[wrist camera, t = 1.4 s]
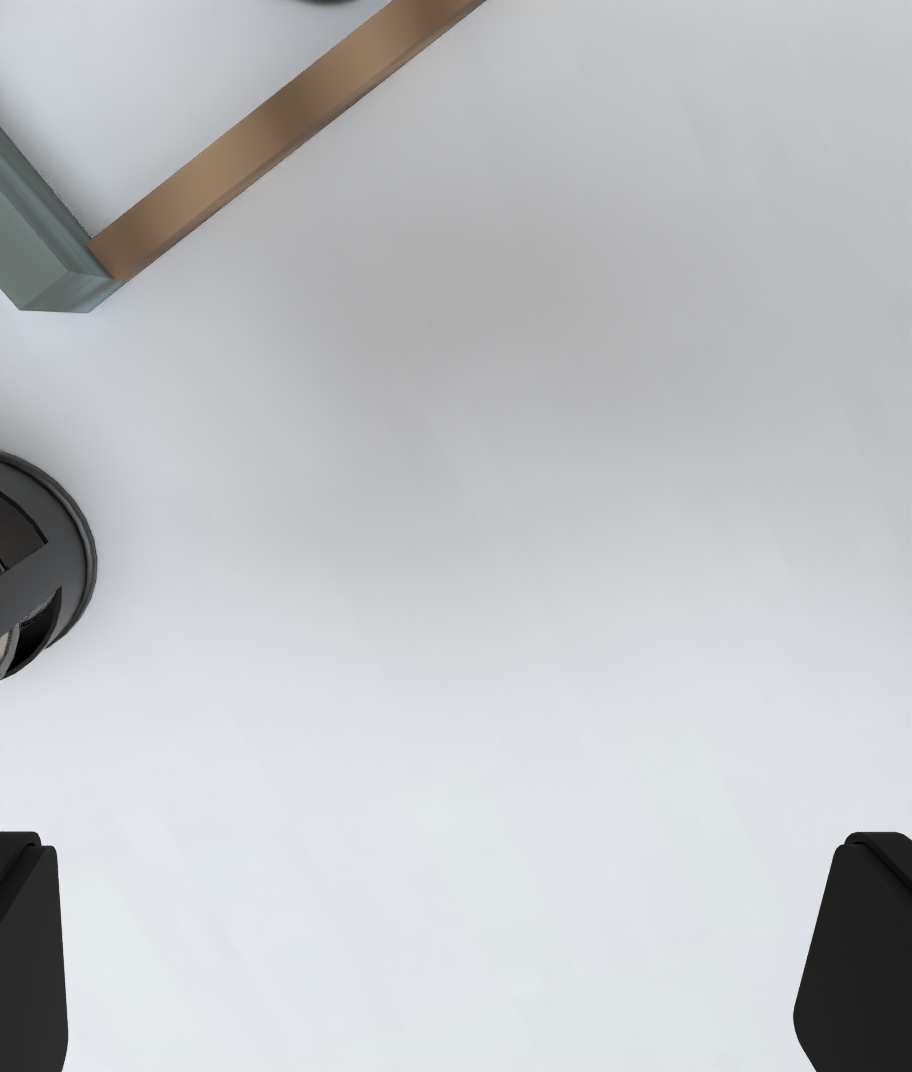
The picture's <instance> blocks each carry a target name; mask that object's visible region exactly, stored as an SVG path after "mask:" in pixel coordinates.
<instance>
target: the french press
mask: <svg viewBox="0 0 912 1072" xmlns="http://www.w3.org/2000/svg"><path fill="white" fill-rule="evenodd" d="M0 497H2V498H3V499H4V500H6V501H7V502H8V503H10V504H11V505H12V506H14V507H15V508H16V509H17V510H18V511H19V512H20V513H21V514H22V515H23V516H24V517H25V518H26V519H27V520H28V521H29V522H30V523H31V524H32V526H33V527H34V529H35V530H36V532H37V533H38V535H39V536H40V538H41V539H42V541H43V542H44V544H43V545H42V546H41V547H39V548H38V549H36V550H35V551H33V552H32V553H30V554H29V555H27V556H26V557H24V558H23V559H21V560H20V561H18V562H17V563H16V564H14V565H13V566H11V567H10V568H8V566H7V565H6V563H5V561H4V560H3V559H2V557H1V556H0V680H2V679H4V678H7V677H9V676H11V675H13V674H15V673H17V672H18V671H19V670H21V669H22V668H23V667H25V666H26V665H27V664H29V663H30V662H31V661H33V660H34V659H35V658H36V657H37V656H38V655H39V654H40V653H41V652H42V651H43V650H44V649H46V648H49V647H50V646H52V645H53V644H54V643H56V642H57V641H58V640H59V639H61V638H62V637H63V636H65V635H66V634H67V633H68V632H69V631H70V630H71V629H72V627H73V626H74V625H75V624H76V623H77V622H78V620H79V619H80V618H81V617H82V615H83V613H84V611H85V609H86V608H87V606H88V604H89V602H90V600H91V597H92V593H93V589H94V586H95V582H96V565H97V559H96V553H95V547H94V541H93V538H92V535H91V533H90V530H89V527H88V525H87V522H86V520H85V518H84V516H83V515H82V513H81V512H80V510H79V509H78V507H77V505H76V504H75V502H74V501H73V499H72V498H71V497H70V496H69V495H68V494H67V493H66V492H65V491H64V490H63V489H62V488H61V487H60V486H59V484H58V483H57V482H55V481H54V480H53V479H51V478H50V477H49V476H47V475H46V474H45V473H43V472H42V471H41V470H39V469H38V468H36V467H34V466H33V465H31V464H29V463H27V462H25V461H23V460H21V459H19V458H17V457H15V456H12V455H8V454H5V453H2V452H0ZM56 590H57V591H56ZM55 591H56V594H55V596H54V598H53V600H52V602H51V604H50V606H49V607H48V608H47V609H46V610H45V612H44V613H43V614H42V615H41V616H40V617H39V618H37V619H36V620H35V621H33V622H32V623H31V624H28V625H26V626H24V627H22V628H20V627H21V620H22V619H23V618H24V617H25V616H27V615H28V614H29V613H30V612H31V611H32V610H34V609H35V608H36V607H37V606H38V605H39V604H41V603H42V602H43V601H44V600H45V599H46V598H48V597H49V596H50V595H51V594H52V593H53V592H55Z"/></svg>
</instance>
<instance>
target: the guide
mask: <svg viewBox="0 0 912 1072" xmlns="http://www.w3.org/2000/svg"><path fill="white" fill-rule="evenodd" d="M484 1H486V0H393V1H392V2H390V3H389V4H388V5H387V6H385V7H384V8H383V9H381V10H380V11H379V12H378V13H376V14H375V15H374V16H373V17H371V18H370V19H369V20H368V21H366V22H365V23H364V24H363V25H361V26H360V27H359V28H358V29H356V30H355V31H354V32H352V33H351V34H350V35H349V36H347V37H346V38H345V39H344V40H342V41H341V42H340V43H339V44H337V45H336V46H335V47H334V48H332V49H331V50H330V51H329V52H327V53H326V54H325V55H324V56H322V57H321V58H320V59H318V60H317V61H316V62H315V63H313V64H312V65H311V66H310V67H308V68H307V69H306V70H305V71H303V72H302V73H301V74H300V75H298V76H297V77H296V78H295V79H293V80H292V81H291V82H289V83H288V84H287V85H286V86H284V87H283V88H282V89H281V90H279V91H278V92H277V93H276V94H274V95H273V96H272V97H271V98H269V99H268V100H267V101H266V102H264V103H263V104H262V105H261V106H259V107H258V108H257V109H255V110H254V111H253V112H252V113H250V114H249V115H248V116H247V117H245V118H244V119H243V120H242V121H240V122H239V123H238V124H237V125H235V126H234V127H233V128H232V129H230V130H229V131H228V132H226V133H225V134H224V135H223V136H221V137H220V138H219V139H218V140H216V141H215V142H214V143H213V144H211V145H210V146H209V147H208V148H206V149H205V150H204V151H203V152H201V153H200V154H199V155H198V156H196V157H195V158H194V159H192V160H191V161H190V162H189V163H187V164H186V165H185V166H184V167H182V168H181V169H180V170H179V171H177V172H176V173H175V174H174V175H172V176H171V177H170V178H169V179H167V180H166V181H165V182H164V183H162V184H161V185H160V186H158V187H157V188H156V189H155V190H153V191H152V192H151V193H150V194H148V195H147V196H146V197H145V198H143V199H142V200H141V201H140V202H138V203H137V204H136V205H135V206H133V207H132V208H131V209H129V210H128V211H127V212H126V213H124V214H123V215H122V216H121V217H119V218H118V219H117V220H116V221H114V222H113V223H112V224H111V225H109V226H108V227H107V228H106V229H104V230H103V231H102V232H101V233H99V234H98V235H97V236H95V237H94V238H93V239H91V237H90V236H89V235H88V234H87V232H86V231H85V230H84V229H83V228H82V226H81V225H80V224H79V223H78V221H77V220H76V219H75V218H74V217H73V215H72V214H71V213H70V212H69V211H68V209H67V208H66V207H65V206H64V204H63V203H62V202H61V201H60V200H59V198H58V197H57V196H56V195H55V193H54V192H53V191H52V190H51V189H50V187H49V186H48V185H47V184H46V182H45V181H44V180H43V179H42V178H41V176H40V175H39V174H38V173H37V171H36V170H35V169H34V168H33V167H32V165H31V164H30V163H29V162H28V161H27V159H26V158H25V157H24V156H23V154H22V153H21V152H20V151H19V150H18V148H17V147H16V146H15V145H14V143H13V142H12V141H11V140H10V139H9V137H8V136H7V135H6V134H5V132H4V131H3V130H2V129H1V128H0V289H1V290H2V291H3V292H4V293H5V294H6V295H7V297H8V298H9V299H10V300H11V301H12V302H13V303H14V305H15V306H16V307H17V308H18V309H19V310H27V311H49V312H72V313H88V312H90V311H91V310H92V309H93V308H95V307H96V306H97V305H99V304H100V303H101V302H102V301H104V300H105V299H106V298H107V297H109V296H110V295H111V294H113V293H114V292H115V291H116V290H118V289H119V288H120V287H121V286H123V285H124V284H125V283H127V282H128V281H129V280H130V279H132V278H133V277H134V276H135V275H137V274H138V273H139V272H141V271H142V270H143V269H144V268H146V267H147V266H148V265H149V264H151V263H152V262H153V261H155V260H156V259H157V258H158V257H160V256H161V255H162V254H163V253H165V252H166V251H167V250H169V249H170V248H171V247H172V246H174V245H175V244H176V243H178V242H179V241H180V240H181V239H183V238H184V237H185V236H186V235H188V234H189V233H190V232H192V231H193V230H194V229H195V228H197V227H198V226H199V225H200V224H202V223H203V222H204V221H206V220H207V219H208V218H209V217H211V216H212V215H213V214H214V213H216V212H217V211H218V210H220V209H221V208H222V207H223V206H225V205H226V204H227V203H228V202H230V201H231V200H232V199H234V198H235V197H236V196H237V195H239V194H240V193H241V192H242V191H244V190H245V189H246V188H248V187H249V186H250V185H251V184H253V183H254V182H255V181H256V180H258V179H259V178H260V177H262V176H263V175H264V174H265V173H267V172H268V171H269V170H270V169H272V168H273V167H274V166H276V165H277V164H278V163H279V162H281V161H282V160H283V159H284V158H286V157H287V156H288V155H290V154H291V153H292V152H293V151H295V150H296V149H297V148H298V147H300V146H301V145H302V144H304V143H305V142H306V141H307V140H309V139H310V138H311V137H312V136H314V135H315V134H316V133H318V132H319V131H320V130H321V129H323V128H324V127H325V126H326V125H328V124H329V123H330V122H332V121H333V120H334V119H335V118H337V117H338V116H339V115H340V114H342V113H343V112H344V111H346V110H347V109H348V108H349V107H351V106H352V105H353V104H354V103H356V102H357V101H358V100H360V99H361V98H362V97H363V96H365V95H366V94H367V93H368V92H370V91H371V90H372V89H374V88H375V87H376V86H377V85H379V84H380V83H381V82H383V81H384V80H385V79H386V78H388V77H389V76H390V75H391V74H393V73H394V72H395V71H397V70H398V69H399V68H400V67H402V66H403V65H404V64H405V63H407V62H408V61H409V60H411V59H412V58H413V57H414V56H416V55H417V54H418V53H419V52H421V51H422V50H423V49H425V48H426V47H427V46H428V45H430V44H431V43H432V42H433V41H435V40H436V39H437V38H439V37H440V36H441V35H442V34H444V33H445V32H446V31H447V30H449V29H450V28H451V27H453V26H454V25H455V24H456V23H458V22H459V21H460V20H461V19H463V18H464V17H465V16H467V15H468V14H469V13H470V12H472V11H473V10H474V9H475V8H477V7H478V6H479V5H481V4H482V3H483V2H484Z"/></svg>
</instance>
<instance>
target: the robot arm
mask: <svg viewBox="0 0 912 1072" xmlns="http://www.w3.org/2000/svg"><path fill="white" fill-rule="evenodd" d="M793 1020H794V1027H795V1032H796V1035H797V1038H798V1041H799V1043H800V1045H801V1047H802V1048H803V1050H804V1052H805V1053H806V1055H807V1057H808V1058H809V1060H810V1062H811V1063H812V1065H813V1067H814V1068H815V1070H816V1072H912V840H911V839H909V838H908V837H907V836H905V835H904V834H901V833H897V832H856V833H852V834H850V835H849V836H848V837H847V838H846V841H845V843H844V845H840V846H839V847H838V848H837V849H836V851H835V853H834V856H833V860H832V864H831V868H830V872H829V875H828V879H827V883H826V887H825V891H824V895H823V899H822V902H821V906H820V910H819V914H818V918H817V922H816V925H815V929H814V933H813V937H812V941H811V945H810V949H809V952H808V956H807V960H806V964H805V968H804V972H803V976H802V979H801V983H800V987H799V991H798V995H797V999H796V1003H795V1006H794V1012H793ZM67 1045H68V1021H67V1005H66V989H65V974H64V958H63V942H62V926H61V911H60V895H59V879H58V863H57V853H56V850H55V848H54V847H53V846H41V840H40V837H39V835H38V833H36V832H0V1072H62V1069H63V1065H64V1061H65V1057H66V1052H67Z"/></svg>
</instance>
